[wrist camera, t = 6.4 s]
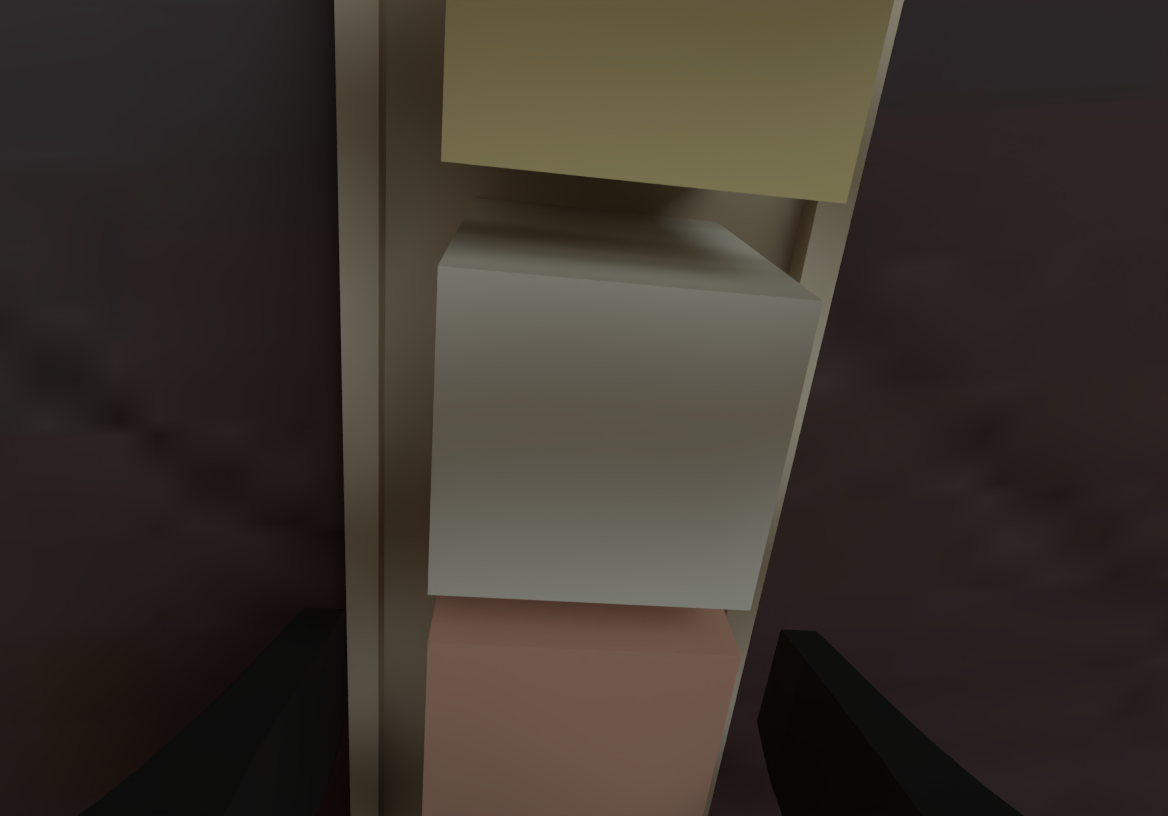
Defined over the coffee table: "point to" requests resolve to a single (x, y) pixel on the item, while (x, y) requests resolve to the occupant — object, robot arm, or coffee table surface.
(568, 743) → the terracotta block
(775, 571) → the coffee table surface
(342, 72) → the rack
